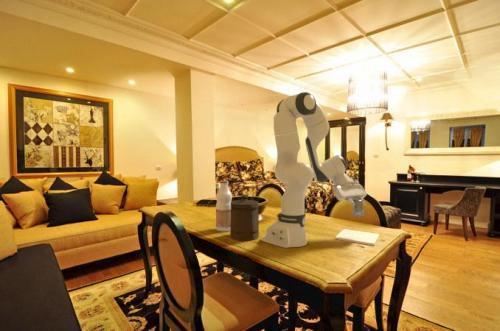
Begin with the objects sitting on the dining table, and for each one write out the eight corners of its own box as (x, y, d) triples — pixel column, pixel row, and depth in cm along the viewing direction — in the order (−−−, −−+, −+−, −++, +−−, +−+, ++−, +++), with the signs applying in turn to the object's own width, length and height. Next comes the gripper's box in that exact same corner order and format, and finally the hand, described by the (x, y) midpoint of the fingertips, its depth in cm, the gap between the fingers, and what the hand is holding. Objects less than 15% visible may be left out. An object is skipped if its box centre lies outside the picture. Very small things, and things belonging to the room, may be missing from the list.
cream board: (335, 239, 127) (335, 237, 127) (343, 230, 142) (343, 229, 142) (374, 245, 117) (374, 243, 117) (379, 236, 132) (379, 234, 132)
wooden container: (247, 230, 142) (247, 192, 141) (264, 237, 130) (264, 195, 130) (225, 235, 133) (225, 194, 133) (240, 242, 121) (240, 197, 121)
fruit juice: (221, 232, 138) (221, 182, 137) (212, 229, 145) (212, 180, 144) (235, 229, 144) (235, 181, 143) (226, 226, 151) (226, 180, 150)
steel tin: (351, 215, 129) (352, 200, 129) (353, 213, 133) (354, 198, 133) (362, 216, 126) (362, 201, 126) (364, 215, 130) (364, 199, 130)
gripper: (333, 181, 130) (349, 203, 122) (359, 179, 140) (375, 199, 132) (327, 189, 134) (341, 210, 126) (352, 187, 144) (367, 206, 136)
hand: (359, 205), depth 129 cm, fingers closed on steel tin, 5 cm apart
